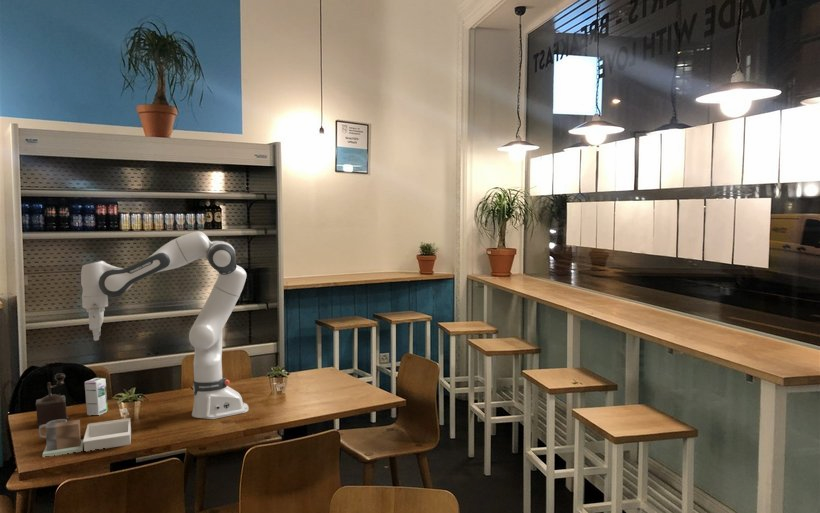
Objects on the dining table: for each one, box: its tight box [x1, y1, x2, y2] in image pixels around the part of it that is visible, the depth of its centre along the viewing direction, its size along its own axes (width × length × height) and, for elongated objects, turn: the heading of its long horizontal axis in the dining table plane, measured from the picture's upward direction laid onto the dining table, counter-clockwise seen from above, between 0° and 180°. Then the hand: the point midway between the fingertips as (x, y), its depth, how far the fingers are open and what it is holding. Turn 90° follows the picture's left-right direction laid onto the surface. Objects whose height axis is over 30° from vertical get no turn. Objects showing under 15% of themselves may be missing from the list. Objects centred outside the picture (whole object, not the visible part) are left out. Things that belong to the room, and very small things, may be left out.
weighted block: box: [45, 419, 82, 451], centre depth 217 cm, size 10×5×8 cm, turn 114°
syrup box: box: [84, 377, 109, 416], centre depth 258 cm, size 6×6×14 cm
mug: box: [38, 419, 68, 440], centre depth 228 cm, size 10×7×7 cm, turn 92°
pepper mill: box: [35, 372, 70, 429], centre depth 250 cm, size 16×11×18 cm
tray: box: [83, 417, 132, 452], centre depth 224 cm, size 15×21×4 cm
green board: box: [42, 438, 84, 458], centre depth 217 cm, size 12×10×1 cm
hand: (97, 338), depth 239 cm, fingers open, 8 cm apart
